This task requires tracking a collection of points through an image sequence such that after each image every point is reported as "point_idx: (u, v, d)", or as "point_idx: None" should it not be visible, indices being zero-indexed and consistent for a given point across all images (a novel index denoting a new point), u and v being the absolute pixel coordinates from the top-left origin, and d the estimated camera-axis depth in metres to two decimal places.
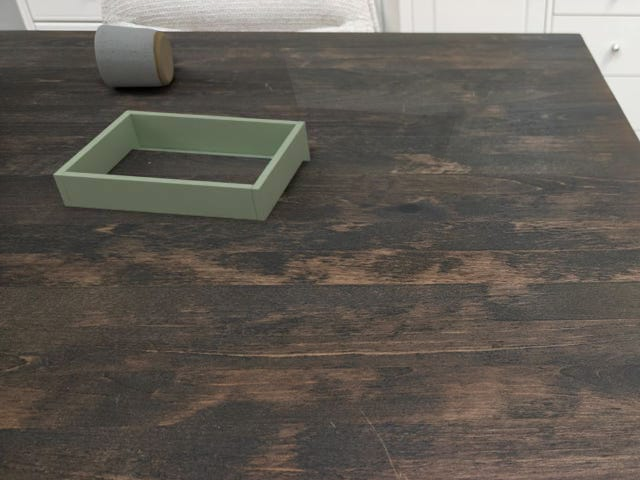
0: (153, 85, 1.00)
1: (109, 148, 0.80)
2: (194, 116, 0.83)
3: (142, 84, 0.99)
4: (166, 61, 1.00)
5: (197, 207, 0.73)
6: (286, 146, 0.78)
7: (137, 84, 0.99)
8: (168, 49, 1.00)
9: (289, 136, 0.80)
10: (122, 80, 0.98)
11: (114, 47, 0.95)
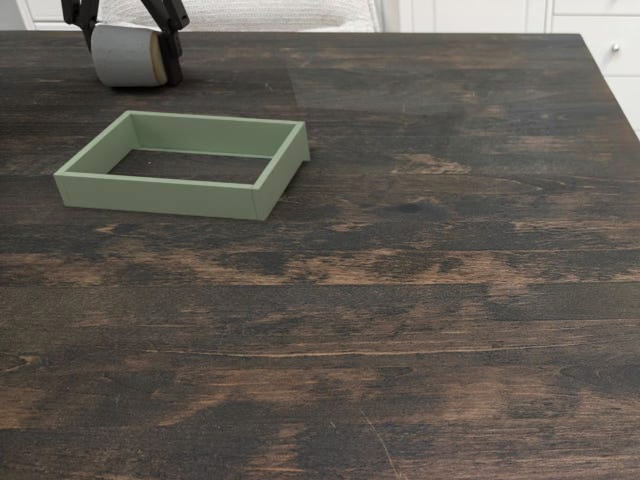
0: (150, 85, 1.00)
1: (109, 148, 0.80)
2: (194, 116, 0.83)
3: (139, 84, 0.99)
4: (163, 61, 1.00)
5: (197, 207, 0.73)
6: (286, 146, 0.78)
7: (134, 84, 0.99)
8: None
9: (289, 136, 0.80)
10: (118, 80, 0.98)
11: (111, 47, 0.96)
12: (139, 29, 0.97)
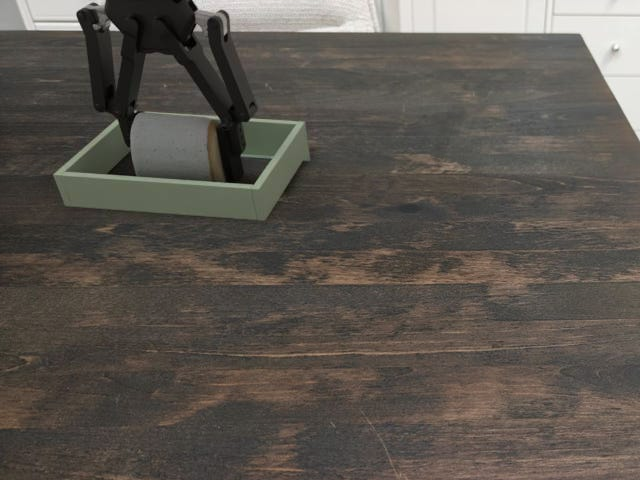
0: None
1: (109, 148, 0.80)
2: None
3: None
4: (221, 158, 0.77)
5: (197, 207, 0.73)
6: (286, 146, 0.78)
7: None
8: None
9: (289, 136, 0.80)
10: None
11: (156, 144, 0.73)
12: (192, 119, 0.74)
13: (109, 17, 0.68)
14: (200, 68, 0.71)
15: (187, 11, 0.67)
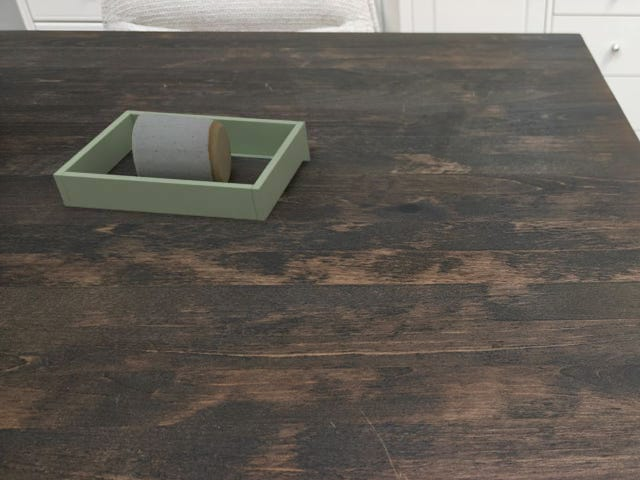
0: None
1: (109, 148, 0.80)
2: (194, 116, 0.83)
3: None
4: (223, 159, 0.77)
5: (197, 207, 0.73)
6: (286, 146, 0.78)
7: None
8: (225, 142, 0.78)
9: (289, 136, 0.80)
10: None
11: (157, 145, 0.73)
12: (194, 120, 0.74)
13: None
14: None
15: None
